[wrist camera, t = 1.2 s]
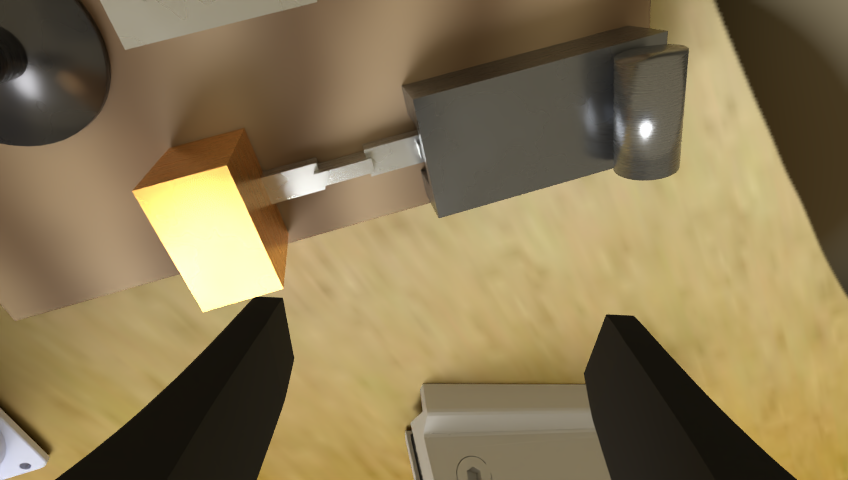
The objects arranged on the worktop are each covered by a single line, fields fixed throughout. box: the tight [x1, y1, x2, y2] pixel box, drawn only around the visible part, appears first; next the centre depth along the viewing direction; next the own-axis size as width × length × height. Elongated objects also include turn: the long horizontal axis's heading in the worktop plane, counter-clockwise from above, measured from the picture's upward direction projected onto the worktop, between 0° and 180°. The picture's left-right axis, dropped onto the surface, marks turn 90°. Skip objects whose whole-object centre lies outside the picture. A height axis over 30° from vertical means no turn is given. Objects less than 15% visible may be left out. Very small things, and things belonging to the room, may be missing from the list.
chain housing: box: [401, 25, 689, 218], centre depth 19 cm, size 10×5×5 cm, turn 102°
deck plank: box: [0, 0, 651, 321], centre depth 18 cm, size 30×16×1 cm, turn 102°
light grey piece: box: [405, 384, 611, 480], centre depth 29 cm, size 17×5×10 cm, turn 78°
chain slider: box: [132, 128, 424, 312], centre depth 18 cm, size 18×5×4 cm, turn 102°
